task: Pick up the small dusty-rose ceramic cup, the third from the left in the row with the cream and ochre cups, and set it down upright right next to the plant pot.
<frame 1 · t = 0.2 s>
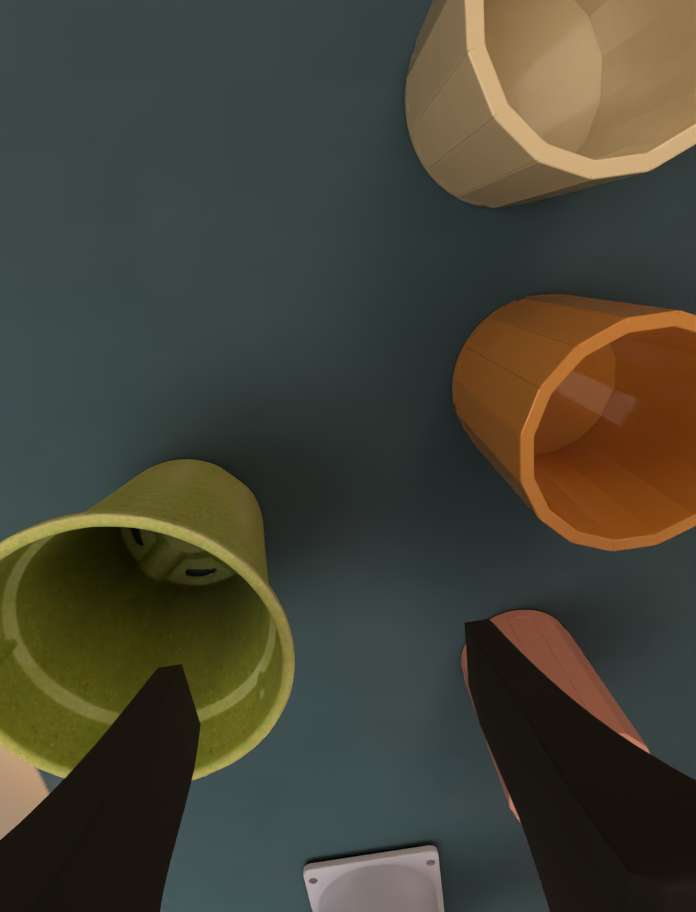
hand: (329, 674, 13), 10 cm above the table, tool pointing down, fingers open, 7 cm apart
rose cup: (515, 655, 26), on the table
ochre cup: (534, 381, 21), on the table
cream cup: (504, 96, 18), on the table
plant pot: (193, 519, 23), on the table
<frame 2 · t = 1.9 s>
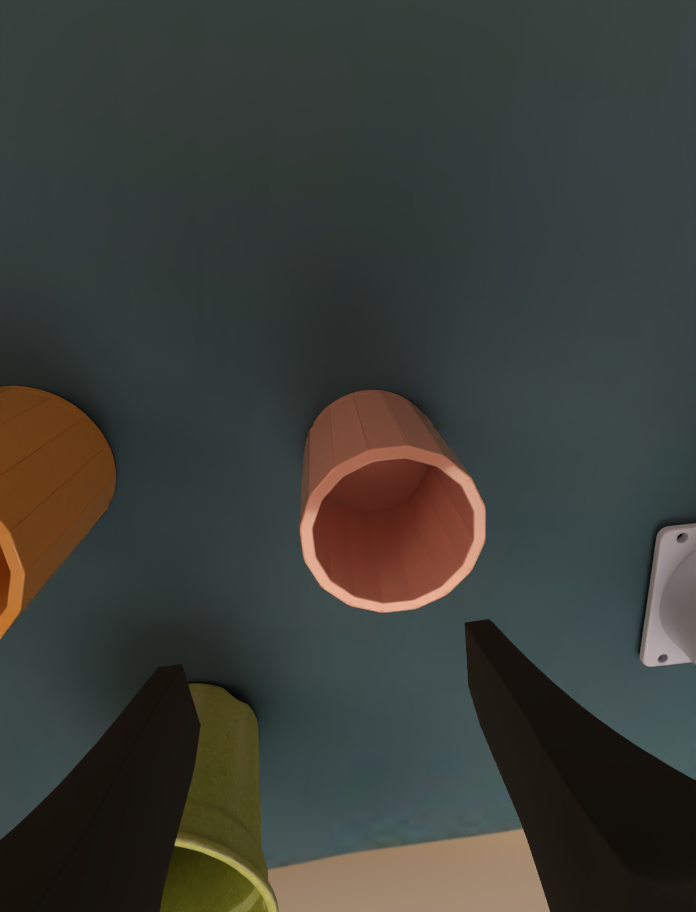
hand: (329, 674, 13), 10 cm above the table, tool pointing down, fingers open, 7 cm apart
rose cup: (370, 453, 22), on the table
ochre cup: (31, 466, 21), on the table
plant pot: (198, 723, 27), on the table
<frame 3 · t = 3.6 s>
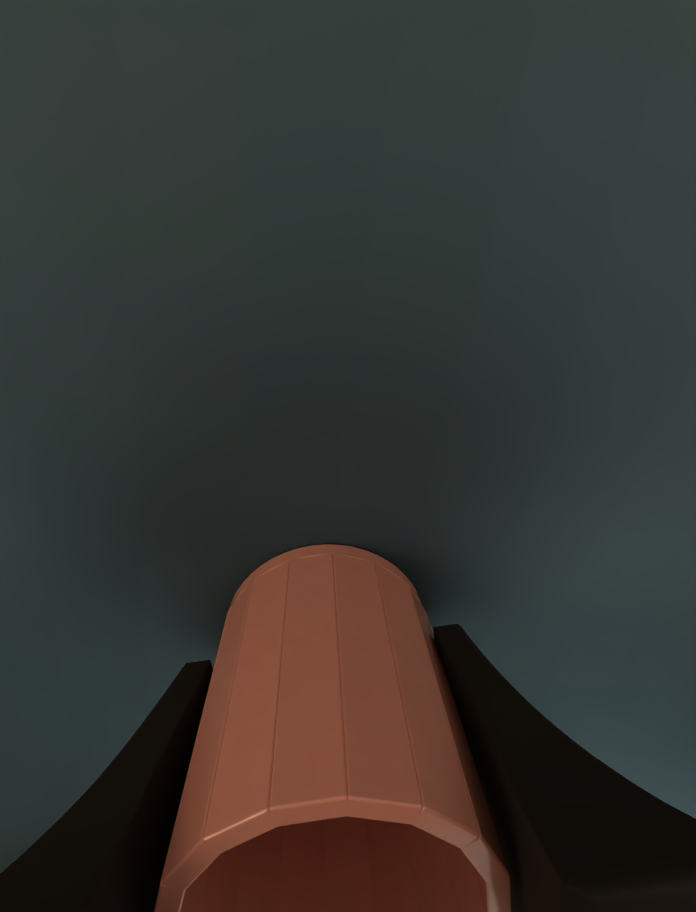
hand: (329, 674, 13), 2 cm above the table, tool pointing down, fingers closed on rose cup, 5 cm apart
rose cup: (326, 629, 15), on the table, touching gripper
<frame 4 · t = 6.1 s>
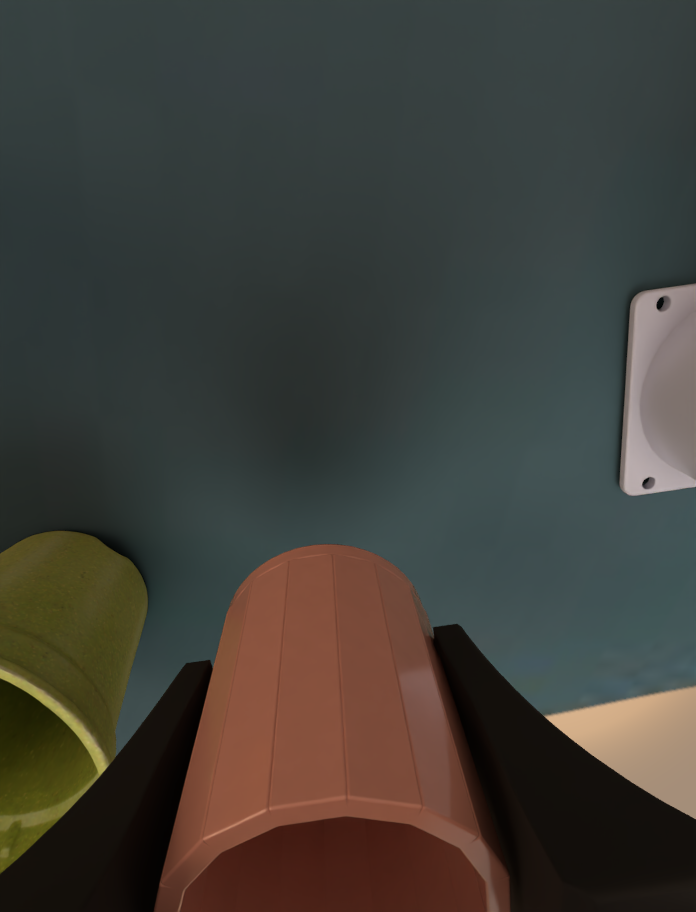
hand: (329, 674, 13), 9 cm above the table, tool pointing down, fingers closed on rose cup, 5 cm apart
rose cup: (326, 629, 15), point 7 cm above the table, touching gripper
plant pot: (75, 589, 22), on the table
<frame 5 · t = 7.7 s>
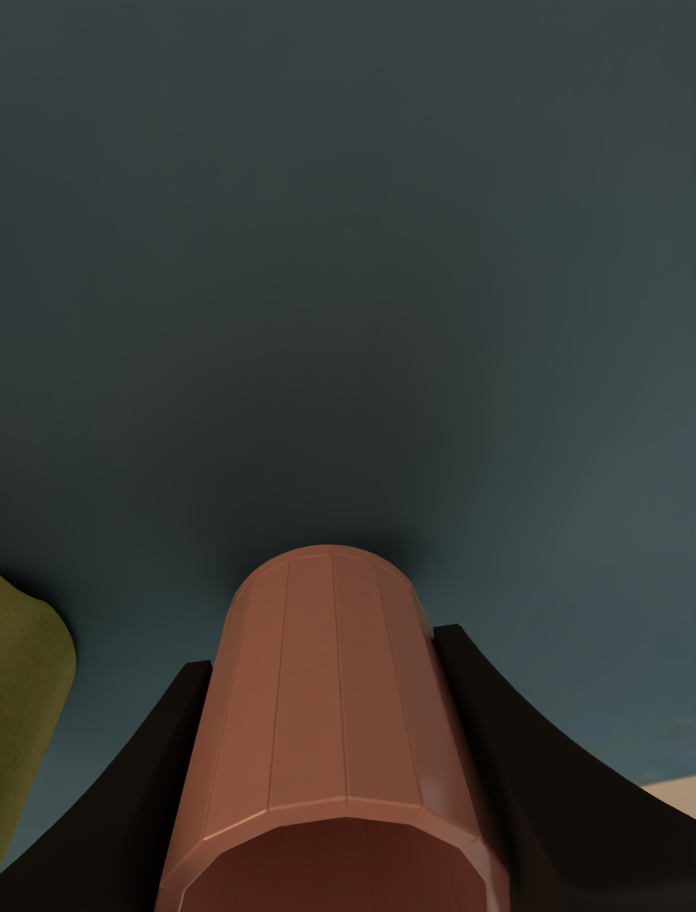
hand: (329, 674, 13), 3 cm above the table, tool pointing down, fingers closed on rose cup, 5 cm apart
rose cup: (326, 629, 15), point 2 cm above the table, touching gripper
when the fingers open (2 cm above the table, at t = 8.8 s): rose cup stays where it is, on the table.
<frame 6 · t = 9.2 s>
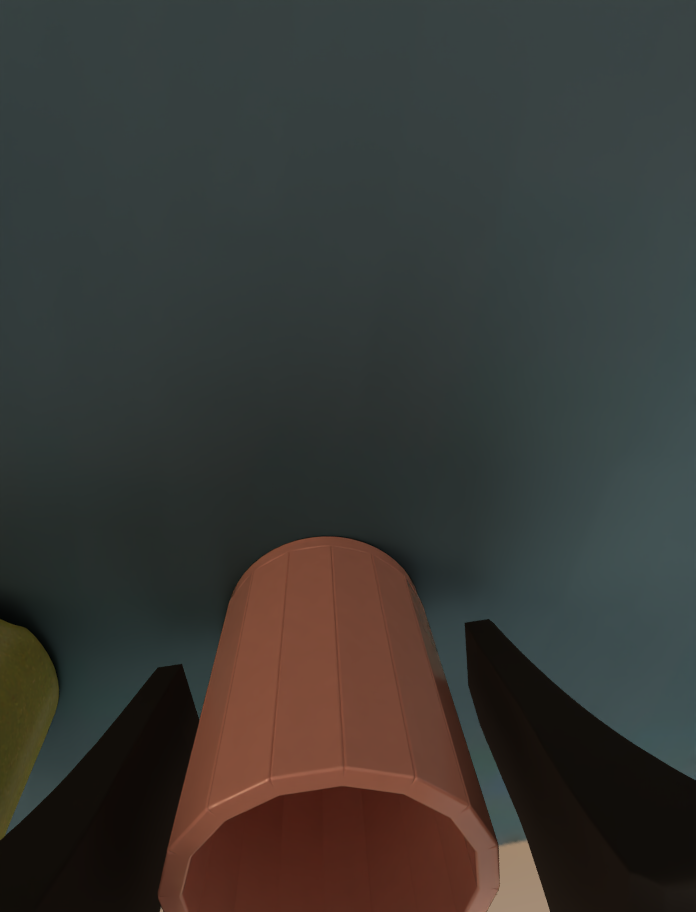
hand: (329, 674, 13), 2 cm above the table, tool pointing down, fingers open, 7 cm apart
rose cup: (325, 619, 15), on the table
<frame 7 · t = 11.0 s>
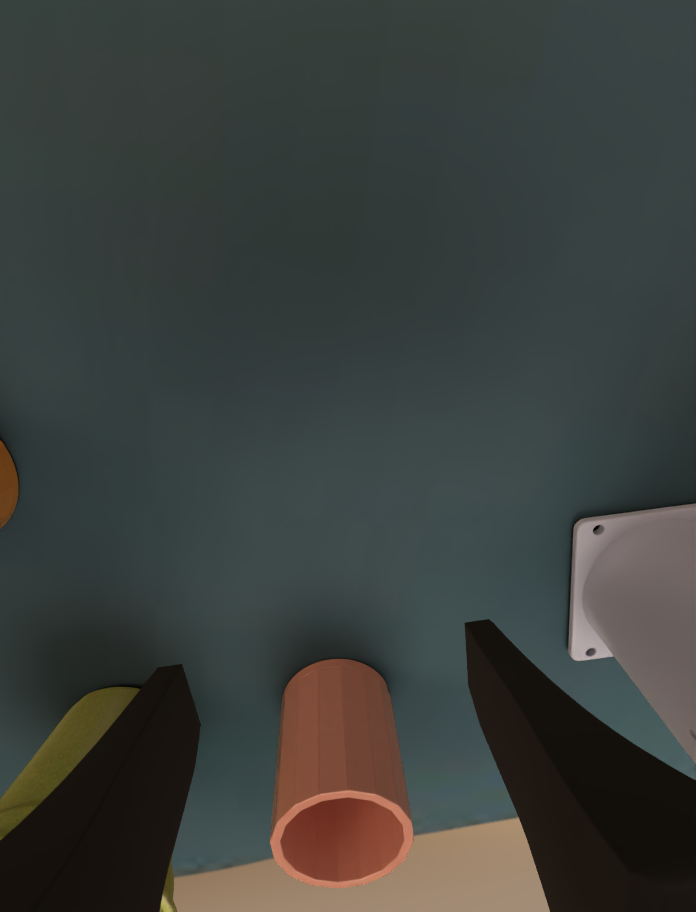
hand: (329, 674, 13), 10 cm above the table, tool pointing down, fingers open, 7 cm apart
rose cup: (336, 701, 27), on the table
plant pot: (127, 726, 27), on the table
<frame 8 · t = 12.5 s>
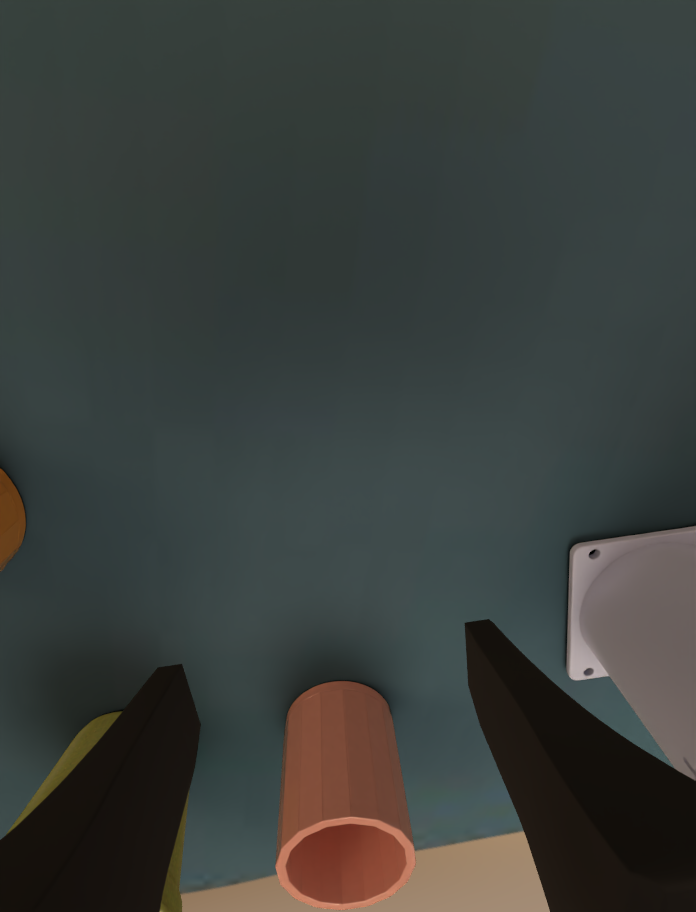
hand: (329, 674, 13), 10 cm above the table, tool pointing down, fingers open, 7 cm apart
rose cup: (338, 721, 27), on the table
plant pot: (134, 748, 27), on the table
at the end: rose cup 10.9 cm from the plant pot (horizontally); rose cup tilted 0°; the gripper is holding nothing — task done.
